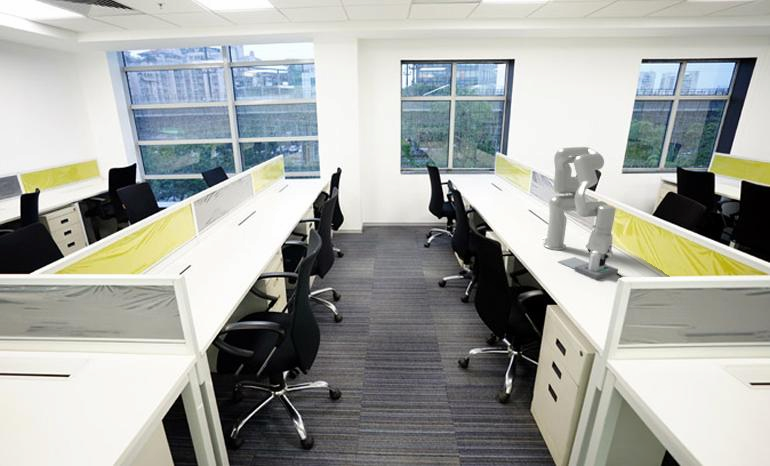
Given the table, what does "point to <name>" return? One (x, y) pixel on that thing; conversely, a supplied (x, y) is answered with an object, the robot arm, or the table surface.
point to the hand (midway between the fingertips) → (596, 263)
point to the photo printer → (595, 262)
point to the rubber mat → (572, 262)
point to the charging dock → (598, 274)
